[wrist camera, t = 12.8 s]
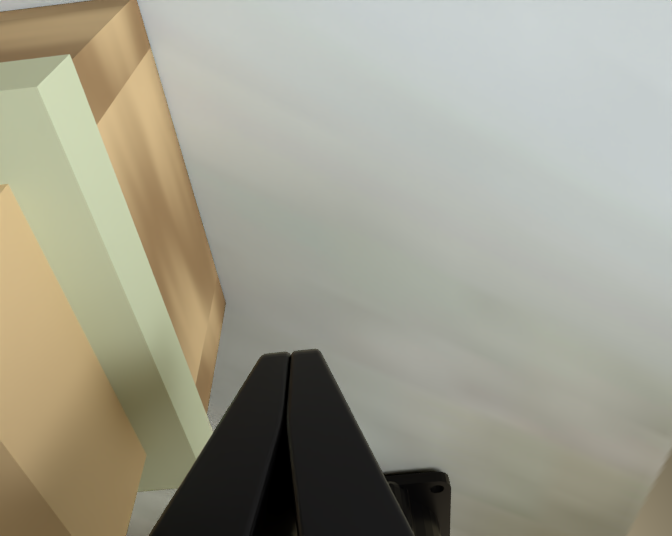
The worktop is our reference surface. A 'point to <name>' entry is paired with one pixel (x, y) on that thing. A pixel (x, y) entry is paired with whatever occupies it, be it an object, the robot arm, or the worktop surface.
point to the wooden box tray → (136, 155)
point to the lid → (79, 325)
